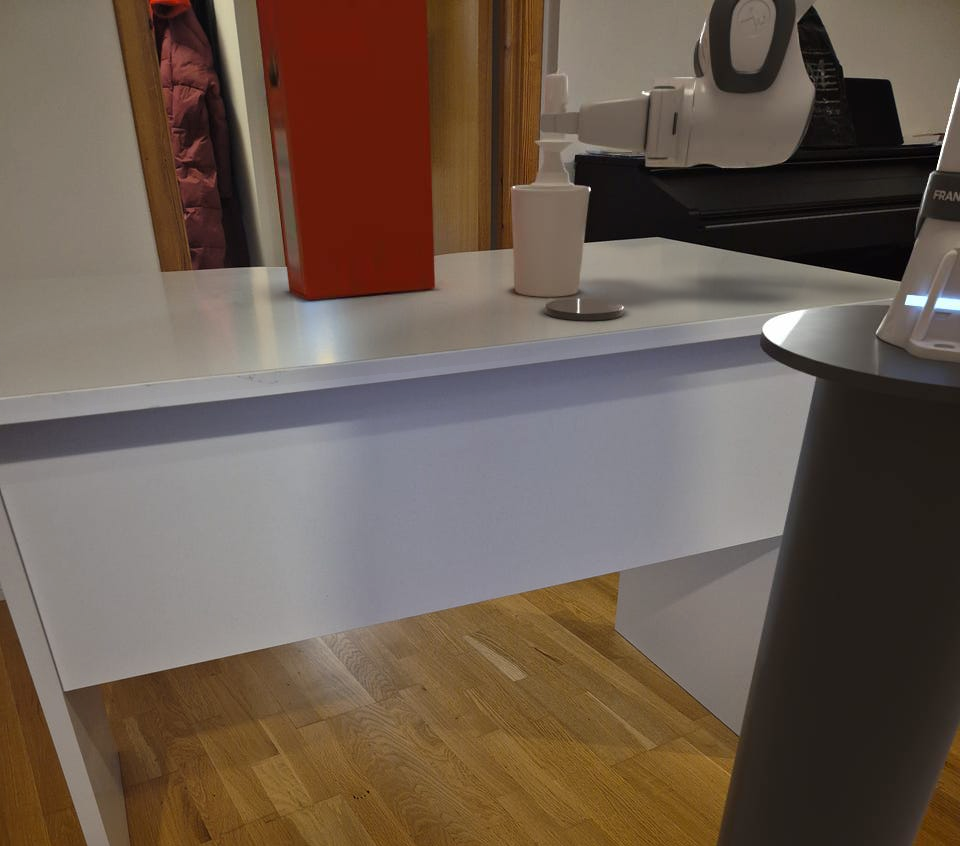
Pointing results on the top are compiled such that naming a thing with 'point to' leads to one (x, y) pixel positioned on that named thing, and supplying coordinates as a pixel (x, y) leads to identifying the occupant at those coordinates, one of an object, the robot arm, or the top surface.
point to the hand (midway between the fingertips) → (545, 122)
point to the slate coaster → (584, 309)
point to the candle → (554, 136)
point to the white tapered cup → (548, 239)
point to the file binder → (351, 143)
